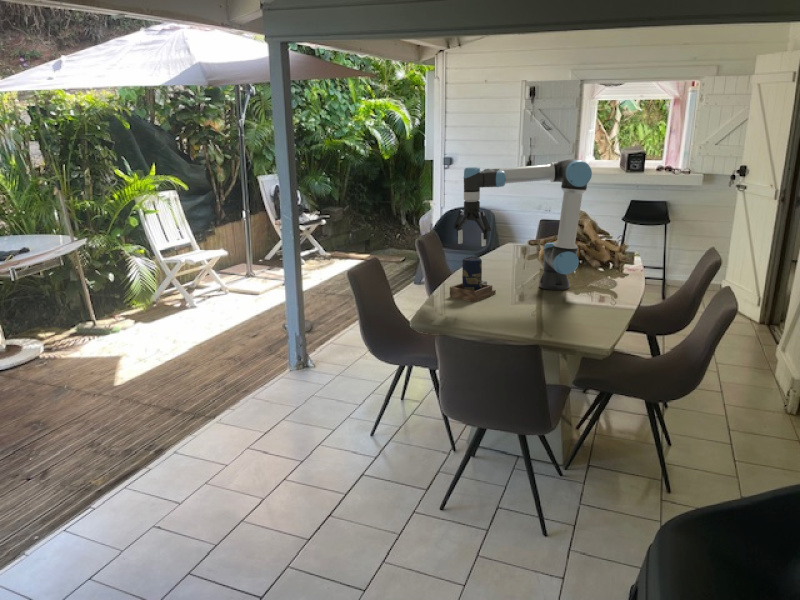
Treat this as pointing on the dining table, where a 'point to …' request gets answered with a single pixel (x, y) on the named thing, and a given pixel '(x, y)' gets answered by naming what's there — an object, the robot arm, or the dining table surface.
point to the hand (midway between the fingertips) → (471, 244)
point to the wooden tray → (471, 292)
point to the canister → (472, 273)
